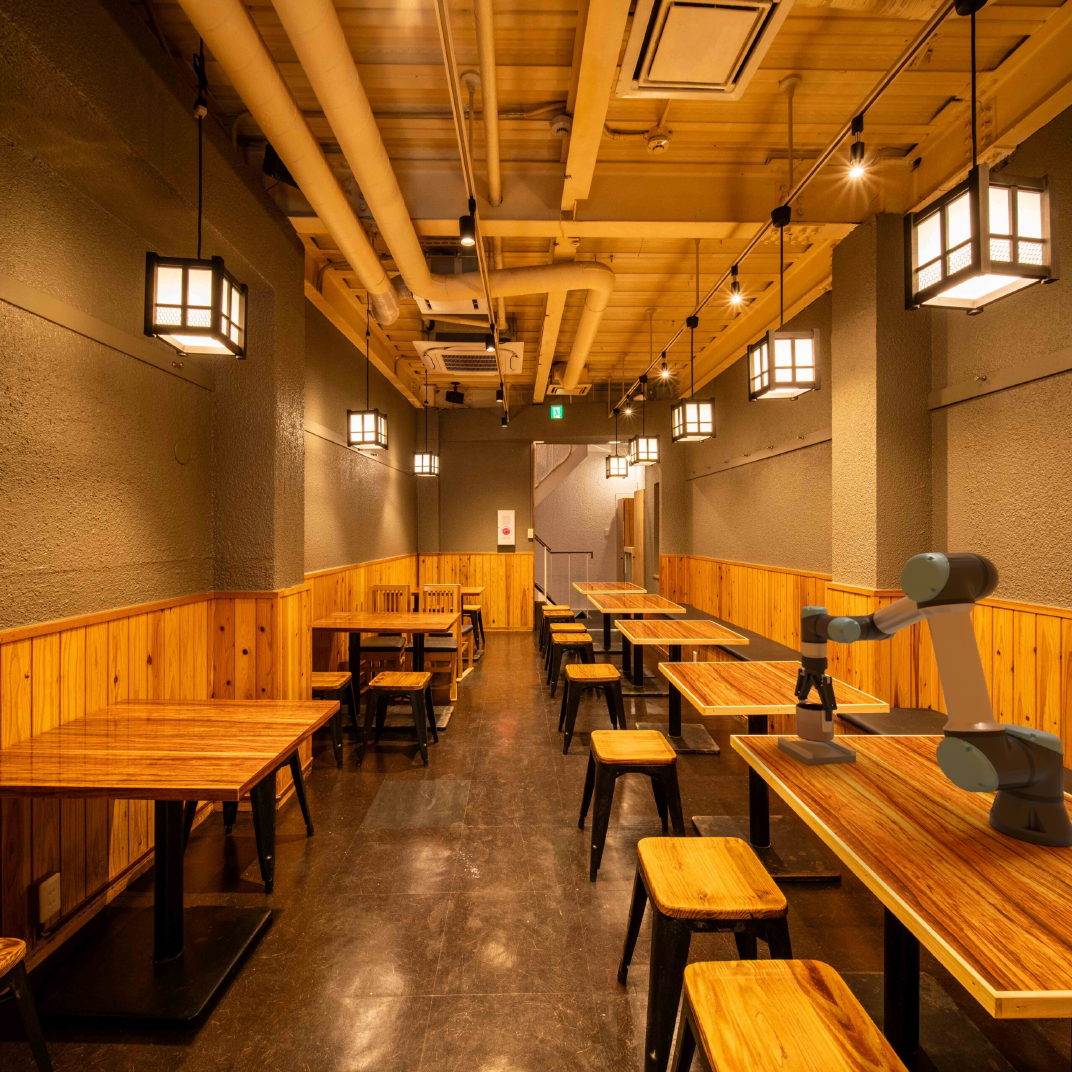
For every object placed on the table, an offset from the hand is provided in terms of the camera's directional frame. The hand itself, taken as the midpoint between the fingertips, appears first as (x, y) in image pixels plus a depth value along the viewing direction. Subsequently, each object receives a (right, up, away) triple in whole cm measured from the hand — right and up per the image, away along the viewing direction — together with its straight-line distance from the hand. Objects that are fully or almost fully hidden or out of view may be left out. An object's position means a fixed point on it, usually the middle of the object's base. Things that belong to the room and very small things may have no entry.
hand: (815, 725), depth 186 cm
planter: (0, -4, 0) cm, 4 cm away
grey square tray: (0, -9, 0) cm, 9 cm away
